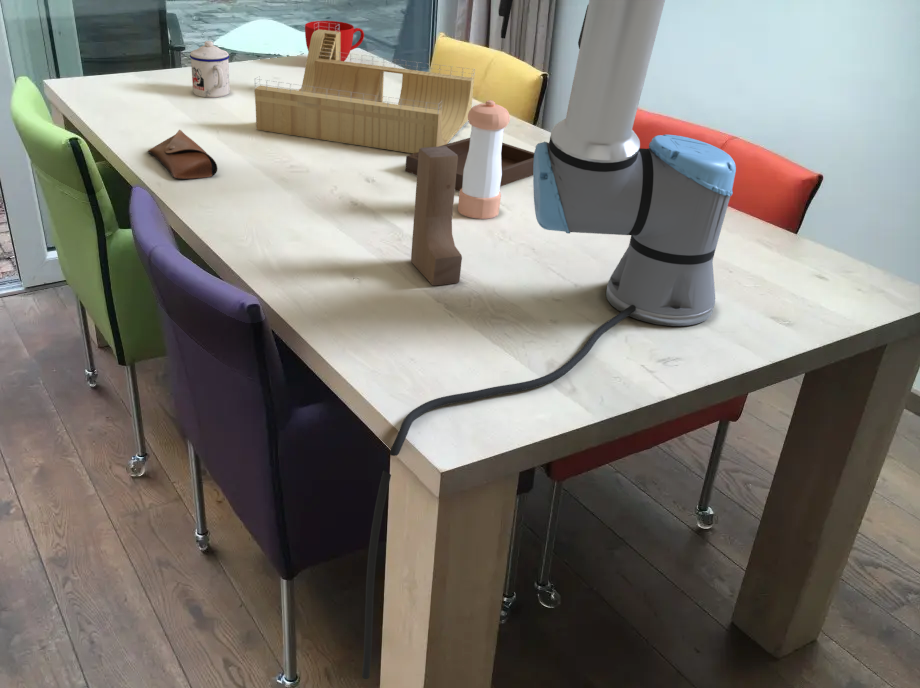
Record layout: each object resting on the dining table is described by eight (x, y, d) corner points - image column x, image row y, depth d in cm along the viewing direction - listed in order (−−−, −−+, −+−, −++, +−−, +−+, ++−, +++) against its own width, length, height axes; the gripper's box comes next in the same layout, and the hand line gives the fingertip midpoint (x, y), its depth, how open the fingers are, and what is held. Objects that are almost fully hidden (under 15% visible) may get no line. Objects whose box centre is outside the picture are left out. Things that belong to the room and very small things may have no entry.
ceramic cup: (374, 67, 244) (375, 28, 239) (318, 72, 237) (318, 32, 231) (351, 56, 254) (352, 18, 248) (296, 61, 246) (296, 22, 241)
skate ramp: (255, 134, 193) (252, 56, 184) (318, 91, 221) (318, 21, 212) (435, 161, 183) (441, 80, 174) (477, 113, 211) (484, 41, 202)
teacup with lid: (187, 89, 217) (183, 38, 210) (223, 86, 221) (220, 36, 214) (203, 102, 208) (200, 49, 202) (240, 99, 212) (238, 47, 205)
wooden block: (460, 283, 135) (472, 165, 125) (432, 286, 133) (442, 167, 123) (436, 259, 141) (446, 145, 132) (409, 262, 140) (417, 147, 130)
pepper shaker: (449, 209, 160) (459, 98, 149) (478, 200, 164) (490, 92, 153) (478, 222, 155) (491, 109, 145) (507, 213, 159) (521, 102, 149)
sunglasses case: (143, 149, 177) (158, 118, 175) (175, 163, 182) (189, 133, 180) (174, 179, 164) (190, 145, 162) (207, 193, 169) (223, 161, 167)
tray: (472, 196, 166) (474, 179, 164) (405, 171, 175) (406, 155, 174) (543, 171, 179) (545, 156, 177) (477, 149, 189) (478, 134, 187)
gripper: (647, -90, 145) (611, 42, 159) (493, -112, 145) (471, 22, 159) (653, -76, 139) (615, 59, 154) (493, -98, 139) (470, 39, 154)
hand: (541, 40), depth 157 cm, fingers open, 13 cm apart
